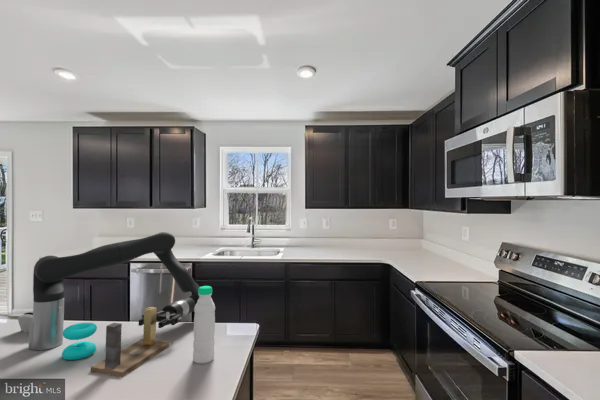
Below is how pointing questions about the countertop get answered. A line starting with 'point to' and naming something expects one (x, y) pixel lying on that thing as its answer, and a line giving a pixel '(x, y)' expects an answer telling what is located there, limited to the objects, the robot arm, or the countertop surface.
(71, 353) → the donuts
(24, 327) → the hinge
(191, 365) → the countertop surface
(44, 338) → the robot arm
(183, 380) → the countertop surface
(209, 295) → the water bottle
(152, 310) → the brass leg
